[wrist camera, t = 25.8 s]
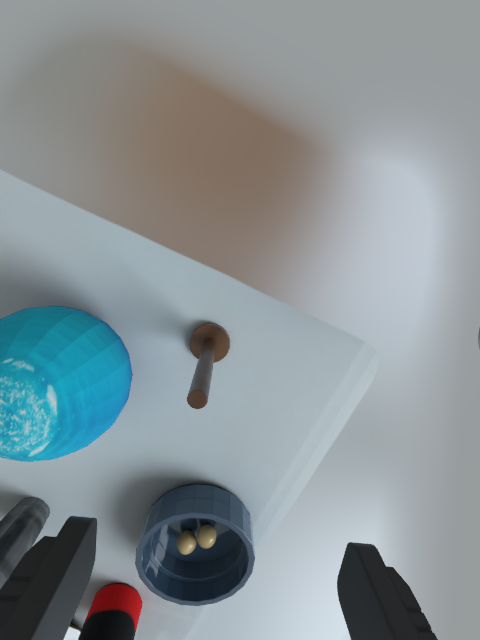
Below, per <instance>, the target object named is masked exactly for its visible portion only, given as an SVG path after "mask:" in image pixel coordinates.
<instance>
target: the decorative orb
mask: <svg viewBox="0 0 480 640" xmlns="http://www.w3.org/2000/svg"><path fill="white" fill-rule="evenodd" d="M131 380H132V370H131V364H130V358H129V353H128V351H127V349H126V347H125V346H124V344H123V342H122V340H121V338H120V337H119V336H118V335H117V334H116V332H115V331H114V330H113V329H112V328H111V327H110V326H109V325H108V324H107V323H105V322H103V321H102V320H100V319H98V318H96V317H94V316H93V315H91V314H89V313H87V312H85V311H80V310H76V309H71V308H67V307H62V306H49V307H36V308H28V309H23V310H21V311H18V312H16V313H14V314H11V315H9V316H7V317H4V318H2V319H0V457H1V458H7V459H12V460H18V461H41V460H51V459H55V458H59V457H62V456H65V455H67V454H70V453H72V452H75V451H77V450H80V449H82V448H84V447H86V446H88V445H89V444H90V443H92V442H93V441H94V440H96V439H97V438H98V437H99V436H100V435H102V434H103V433H104V432H105V431H106V430H108V429H109V428H110V427H111V426H112V425H113V423H114V422H115V421H116V419H117V417H118V416H119V414H120V412H121V411H122V409H123V407H124V405H125V404H126V402H127V400H128V396H129V391H130V386H131Z"/></svg>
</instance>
